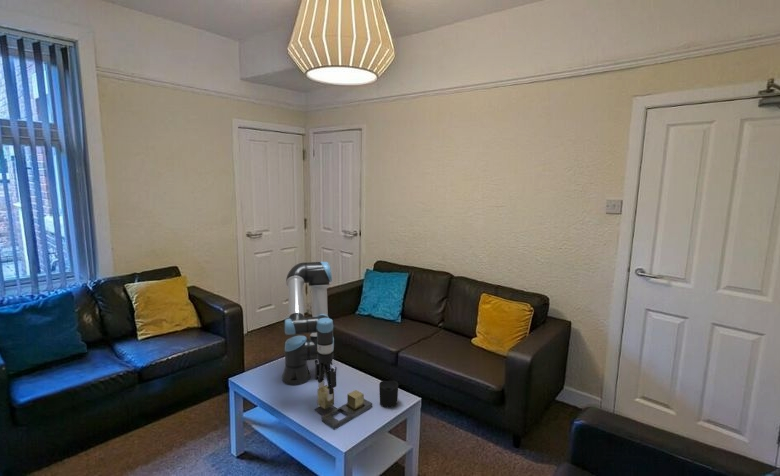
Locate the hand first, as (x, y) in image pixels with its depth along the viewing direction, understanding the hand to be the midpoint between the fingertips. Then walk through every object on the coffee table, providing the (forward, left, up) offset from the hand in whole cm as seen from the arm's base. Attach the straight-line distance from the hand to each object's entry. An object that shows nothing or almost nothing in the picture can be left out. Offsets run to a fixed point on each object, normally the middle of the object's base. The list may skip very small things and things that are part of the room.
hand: (325, 397), depth 188 cm
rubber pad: (0, 0, -7) cm, 7 cm away
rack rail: (+10, +5, -7) cm, 13 cm away
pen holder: (+18, +25, -7) cm, 32 cm away
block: (+10, +10, -7) cm, 16 cm away
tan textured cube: (0, 0, -4) cm, 4 cm away
